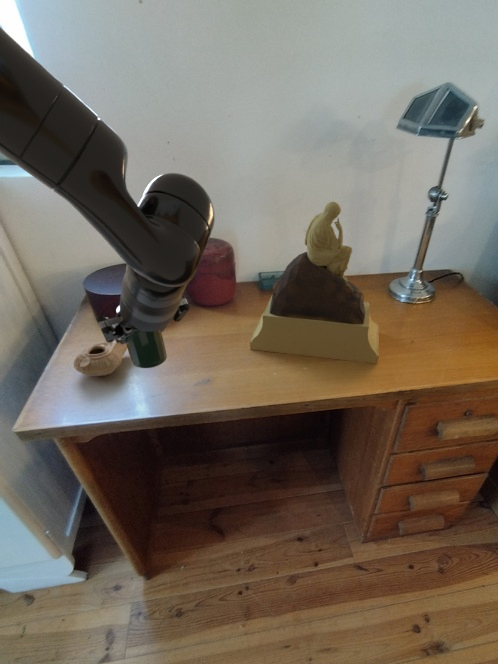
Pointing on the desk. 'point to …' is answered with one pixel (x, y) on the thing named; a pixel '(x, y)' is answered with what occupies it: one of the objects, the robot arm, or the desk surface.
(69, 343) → the desk surface
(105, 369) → the pottery oil lamp
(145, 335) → the pot
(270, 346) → the seated thinker statue
